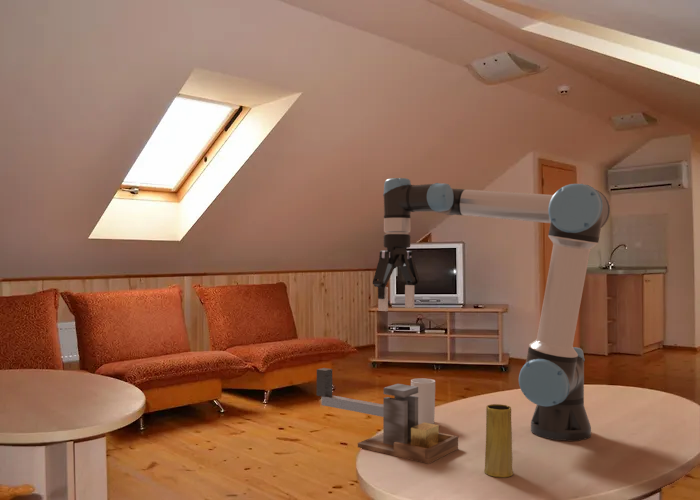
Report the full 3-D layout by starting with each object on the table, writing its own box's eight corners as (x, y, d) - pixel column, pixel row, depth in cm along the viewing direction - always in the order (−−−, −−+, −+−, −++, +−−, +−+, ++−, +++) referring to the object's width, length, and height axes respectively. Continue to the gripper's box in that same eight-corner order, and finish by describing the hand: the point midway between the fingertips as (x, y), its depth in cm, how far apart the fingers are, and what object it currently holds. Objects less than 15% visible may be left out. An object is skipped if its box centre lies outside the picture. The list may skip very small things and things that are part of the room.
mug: (432, 428, 173) (432, 383, 173) (408, 425, 175) (408, 382, 175) (439, 419, 182) (439, 377, 182) (416, 417, 184) (416, 375, 184)
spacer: (424, 442, 156) (438, 445, 153) (411, 448, 151) (425, 451, 148) (424, 422, 156) (438, 425, 153) (411, 427, 151) (425, 430, 148)
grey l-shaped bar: (402, 417, 157) (403, 379, 157) (396, 419, 155) (396, 381, 155) (323, 402, 173) (323, 367, 173) (316, 404, 170) (316, 369, 171)
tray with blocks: (458, 448, 154) (458, 388, 154) (428, 463, 143) (429, 399, 143) (389, 434, 166) (389, 378, 166) (357, 447, 155) (357, 387, 155)
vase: (480, 468, 140) (480, 403, 140) (507, 468, 141) (507, 403, 141) (489, 478, 134) (489, 410, 134) (517, 477, 134) (517, 410, 135)
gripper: (409, 235, 191) (409, 305, 191) (359, 232, 171) (359, 311, 171) (431, 234, 186) (430, 307, 186) (383, 232, 166) (382, 313, 166)
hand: (396, 309), depth 178 cm, fingers open, 13 cm apart
